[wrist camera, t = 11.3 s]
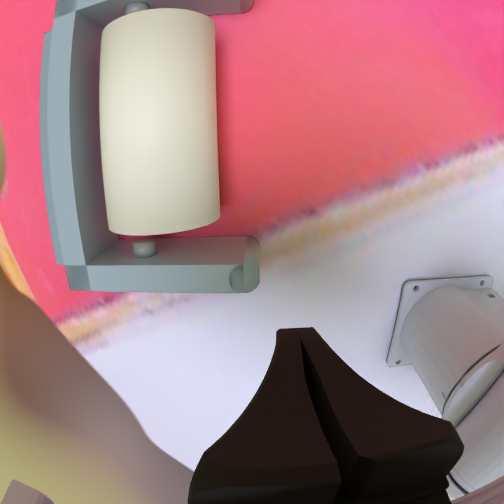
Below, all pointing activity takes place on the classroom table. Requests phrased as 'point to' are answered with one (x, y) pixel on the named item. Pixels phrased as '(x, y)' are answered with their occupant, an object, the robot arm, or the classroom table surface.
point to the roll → (159, 122)
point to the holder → (91, 176)
